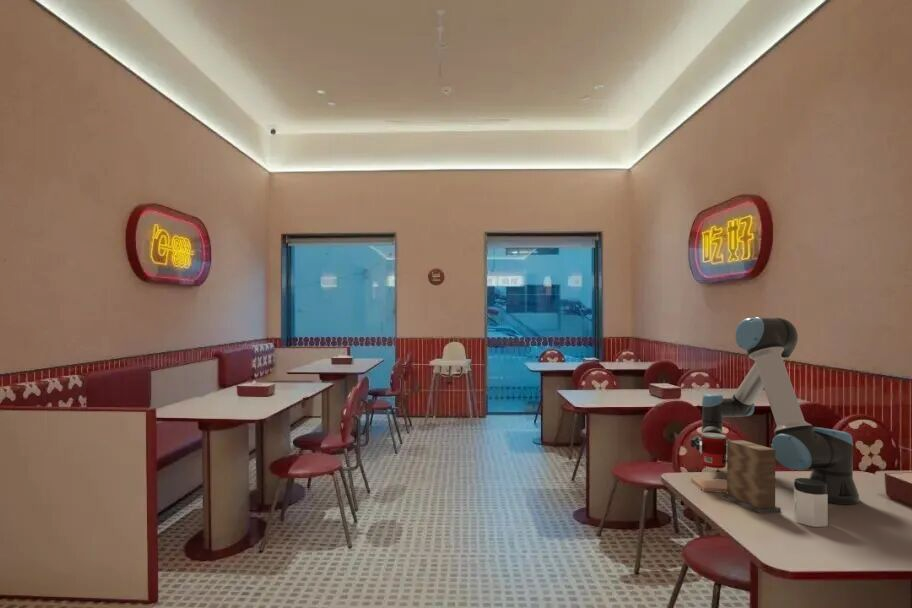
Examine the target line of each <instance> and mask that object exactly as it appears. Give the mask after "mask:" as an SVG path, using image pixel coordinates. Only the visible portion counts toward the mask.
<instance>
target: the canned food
mask: <svg viewBox="0 0 912 608" xmlns="http://www.w3.org/2000/svg"><path fill="white" fill-rule="evenodd" d="M701 437H702V453H701V464H702V465H703V466H704V467H708V468H714V469H724V468H725V467H727V454H726V441H727V435H726V434H723V433H722V434H718V433H702V432H701Z"/></svg>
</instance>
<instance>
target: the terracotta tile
mask: <svg viewBox="0 0 912 608" xmlns="http://www.w3.org/2000/svg"><path fill="white" fill-rule="evenodd" d="M690 481H691V483H692V484H693V485H695V486H696V487H697V486H698V488H699V490H701V489H702V490H703V491H702V490H701V491H702V492H706V491H721V492H720V493H727V479H723V478H699V477H698V478H697V477H696V478H695V477H692V478H690Z"/></svg>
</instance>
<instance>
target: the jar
mask: <svg viewBox="0 0 912 608" xmlns="http://www.w3.org/2000/svg"><path fill="white" fill-rule="evenodd" d="M793 485H794V486H793V518H794V520H795V522H796V523H797V524H800V525H805V526H808V527H813V528H825V527H828V524H829V523H828V511H829V510H828V509H829V505H828V503H829V502H828V495H827V484H826V483H825V482H822V481H819V480H815V479H809V477H797V478H795V479H794V483H793Z"/></svg>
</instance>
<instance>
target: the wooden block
mask: <svg viewBox="0 0 912 608" xmlns="http://www.w3.org/2000/svg"><path fill="white" fill-rule="evenodd" d="M726 441H727V454H726V467H727V468H726V471H727V472H726V477H727V478H726V481H727V492H725V493H722V498H723V497H724V499H725V498H726V499H725V500H727V499H728V501H730V502H732V503H734V502H735V503H734V504H736V503H737V505H739V506H741V507H743V508H746V509H748V510H750V511H753V512H755V513H757V514H759V513H760V514H772V513H781V507H779V506H777V505H776V458H775V449H772V448H771V447H768V446H764V445H761V444H757V443H754V442H750V441H747V440H744V439H738V440H736V439H733V440H732V441H728V440H726Z"/></svg>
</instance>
